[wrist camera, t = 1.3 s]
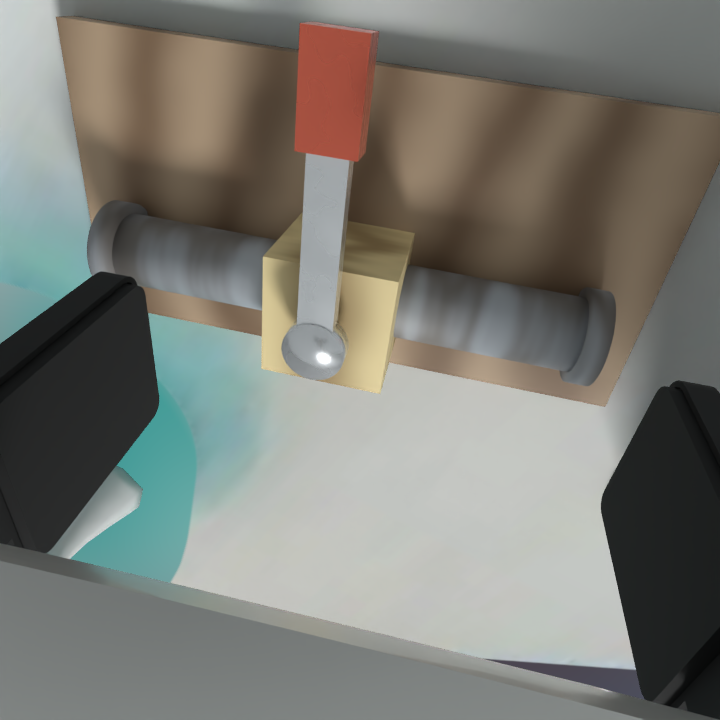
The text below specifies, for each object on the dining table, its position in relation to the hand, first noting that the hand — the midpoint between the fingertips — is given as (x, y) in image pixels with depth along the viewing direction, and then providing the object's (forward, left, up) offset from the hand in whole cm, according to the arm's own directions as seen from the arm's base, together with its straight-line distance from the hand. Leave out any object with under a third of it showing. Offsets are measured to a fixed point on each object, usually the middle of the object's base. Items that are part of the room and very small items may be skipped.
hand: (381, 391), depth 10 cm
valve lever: (+5, +3, -16) cm, 16 cm away
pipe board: (+5, +6, -25) cm, 26 cm away
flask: (+27, +37, -25) cm, 52 cm away
